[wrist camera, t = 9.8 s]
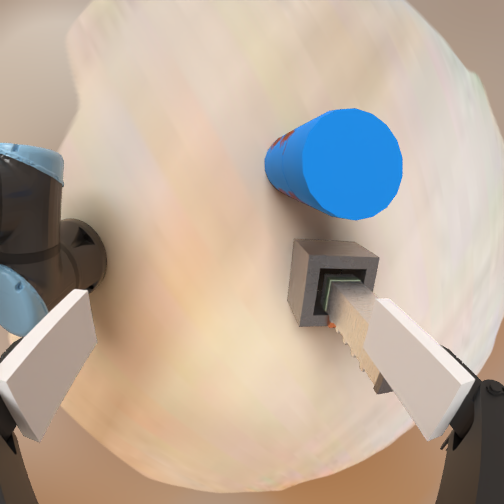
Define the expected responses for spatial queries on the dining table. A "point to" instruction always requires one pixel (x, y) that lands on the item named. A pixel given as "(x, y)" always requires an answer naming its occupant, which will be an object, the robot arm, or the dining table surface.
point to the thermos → (338, 164)
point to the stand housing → (308, 268)
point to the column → (352, 319)
